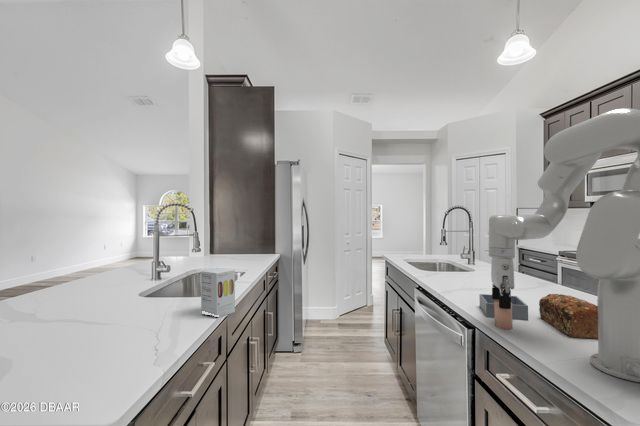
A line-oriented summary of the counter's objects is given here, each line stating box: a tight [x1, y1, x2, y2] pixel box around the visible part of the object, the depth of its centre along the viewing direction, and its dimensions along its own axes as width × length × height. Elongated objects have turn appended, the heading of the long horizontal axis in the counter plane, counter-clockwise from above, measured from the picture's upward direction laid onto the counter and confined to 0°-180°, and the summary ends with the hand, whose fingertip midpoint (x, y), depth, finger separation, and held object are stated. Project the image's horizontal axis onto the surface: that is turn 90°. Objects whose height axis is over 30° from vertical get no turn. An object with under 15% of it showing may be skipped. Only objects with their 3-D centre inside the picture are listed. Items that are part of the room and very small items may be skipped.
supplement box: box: [200, 267, 236, 318], centre depth 122 cm, size 10×9×17 cm
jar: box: [494, 300, 513, 330], centre depth 103 cm, size 5×5×8 cm
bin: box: [478, 293, 529, 321], centre depth 116 cm, size 13×13×5 cm
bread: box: [538, 293, 598, 340], centre depth 101 cm, size 19×11×10 cm, turn 168°
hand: (500, 303), depth 103 cm, fingers open, 9 cm apart
